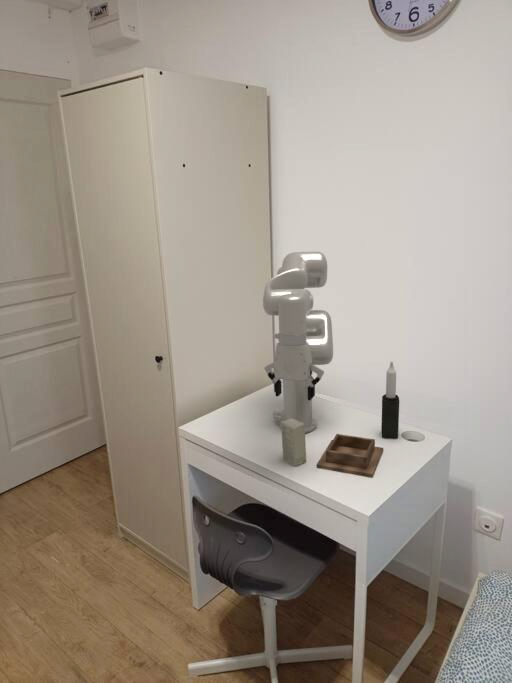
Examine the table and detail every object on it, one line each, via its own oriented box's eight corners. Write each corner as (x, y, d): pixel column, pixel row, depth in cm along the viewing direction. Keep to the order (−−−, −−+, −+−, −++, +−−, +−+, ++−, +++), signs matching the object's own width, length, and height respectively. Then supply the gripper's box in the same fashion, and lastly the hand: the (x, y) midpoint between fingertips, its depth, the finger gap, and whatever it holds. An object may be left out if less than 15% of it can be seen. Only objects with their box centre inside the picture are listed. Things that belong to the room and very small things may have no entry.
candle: (398, 439, 158) (400, 364, 151) (381, 438, 159) (383, 363, 152) (397, 432, 163) (399, 358, 156) (381, 431, 164) (382, 358, 157)
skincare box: (306, 462, 147) (306, 424, 144) (295, 467, 145) (294, 428, 141) (293, 454, 152) (292, 417, 149) (281, 458, 150) (280, 421, 146)
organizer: (316, 467, 144) (316, 453, 143) (331, 442, 158) (331, 429, 157) (372, 477, 137) (372, 462, 136) (383, 450, 151) (383, 437, 150)
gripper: (258, 340, 138) (261, 398, 143) (319, 344, 131) (319, 405, 136) (269, 333, 145) (271, 389, 149) (327, 337, 138) (327, 395, 143)
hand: (294, 396), depth 143 cm, fingers open, 9 cm apart
